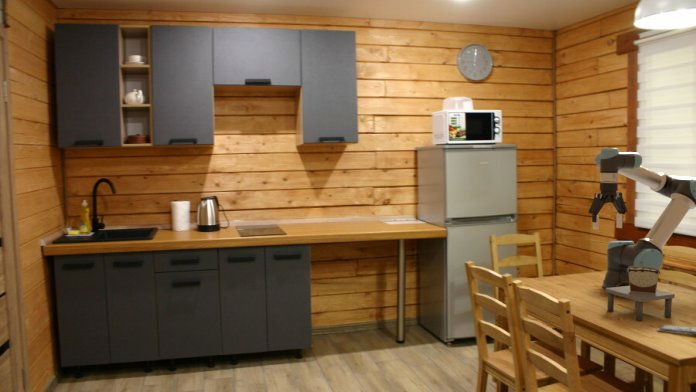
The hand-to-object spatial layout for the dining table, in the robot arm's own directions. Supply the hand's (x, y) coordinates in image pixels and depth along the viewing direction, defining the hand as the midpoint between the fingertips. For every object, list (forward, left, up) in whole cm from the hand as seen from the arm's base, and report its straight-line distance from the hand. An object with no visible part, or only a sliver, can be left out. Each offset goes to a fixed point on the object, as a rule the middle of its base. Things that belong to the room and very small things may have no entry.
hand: (607, 228), depth 267 cm
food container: (+7, +27, -22) cm, 36 cm away
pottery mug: (-9, +3, -32) cm, 33 cm away
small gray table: (+8, +27, -32) cm, 42 cm away
